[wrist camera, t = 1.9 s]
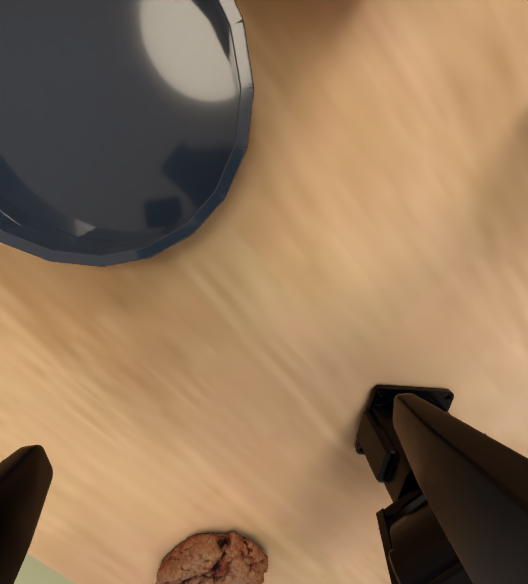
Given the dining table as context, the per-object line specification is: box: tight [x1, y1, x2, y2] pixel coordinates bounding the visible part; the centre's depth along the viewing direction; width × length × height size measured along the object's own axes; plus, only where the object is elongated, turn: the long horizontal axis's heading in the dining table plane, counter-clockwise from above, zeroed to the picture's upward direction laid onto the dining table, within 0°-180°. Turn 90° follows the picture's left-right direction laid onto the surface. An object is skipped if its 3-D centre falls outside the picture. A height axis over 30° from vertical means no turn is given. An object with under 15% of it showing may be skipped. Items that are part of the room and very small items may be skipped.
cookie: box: [156, 532, 268, 584], centre depth 30 cm, size 10×11×3 cm
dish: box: [0, 0, 254, 267], centre depth 15 cm, size 15×15×4 cm
